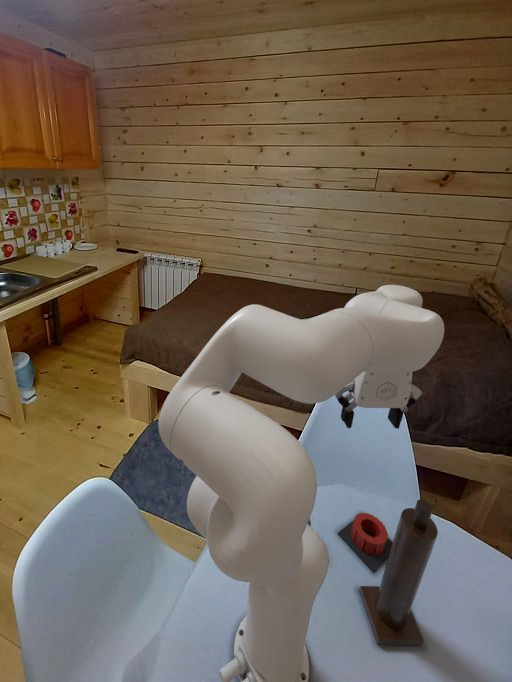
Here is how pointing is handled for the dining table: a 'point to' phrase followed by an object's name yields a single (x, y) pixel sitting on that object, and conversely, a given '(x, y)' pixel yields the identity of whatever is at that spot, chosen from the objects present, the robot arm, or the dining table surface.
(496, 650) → the dining table surface
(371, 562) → the felt mat
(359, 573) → the dining table surface
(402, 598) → the ring holder
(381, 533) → the ring
